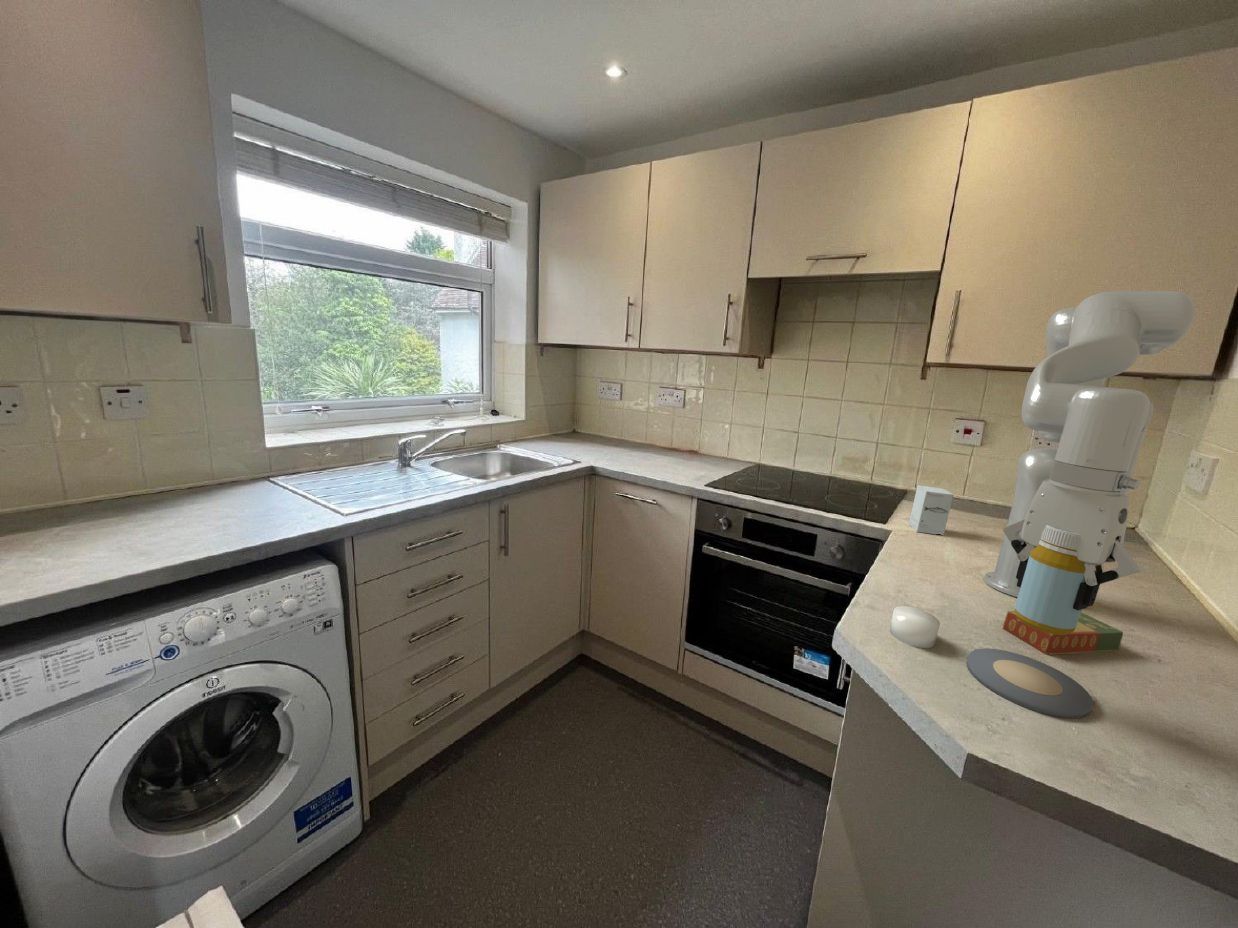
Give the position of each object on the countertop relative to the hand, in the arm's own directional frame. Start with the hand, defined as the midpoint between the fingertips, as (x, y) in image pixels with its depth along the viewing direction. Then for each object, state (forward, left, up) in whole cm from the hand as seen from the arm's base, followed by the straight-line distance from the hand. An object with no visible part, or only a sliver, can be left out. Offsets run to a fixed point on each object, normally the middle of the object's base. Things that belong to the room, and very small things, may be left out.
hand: (1051, 595), depth 73 cm
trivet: (0, 0, -15) cm, 15 cm away
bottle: (0, 0, -5) cm, 5 cm away
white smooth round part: (+5, -15, -15) cm, 22 cm away
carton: (-22, -5, -15) cm, 27 cm away
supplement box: (-57, -53, -15) cm, 79 cm away
